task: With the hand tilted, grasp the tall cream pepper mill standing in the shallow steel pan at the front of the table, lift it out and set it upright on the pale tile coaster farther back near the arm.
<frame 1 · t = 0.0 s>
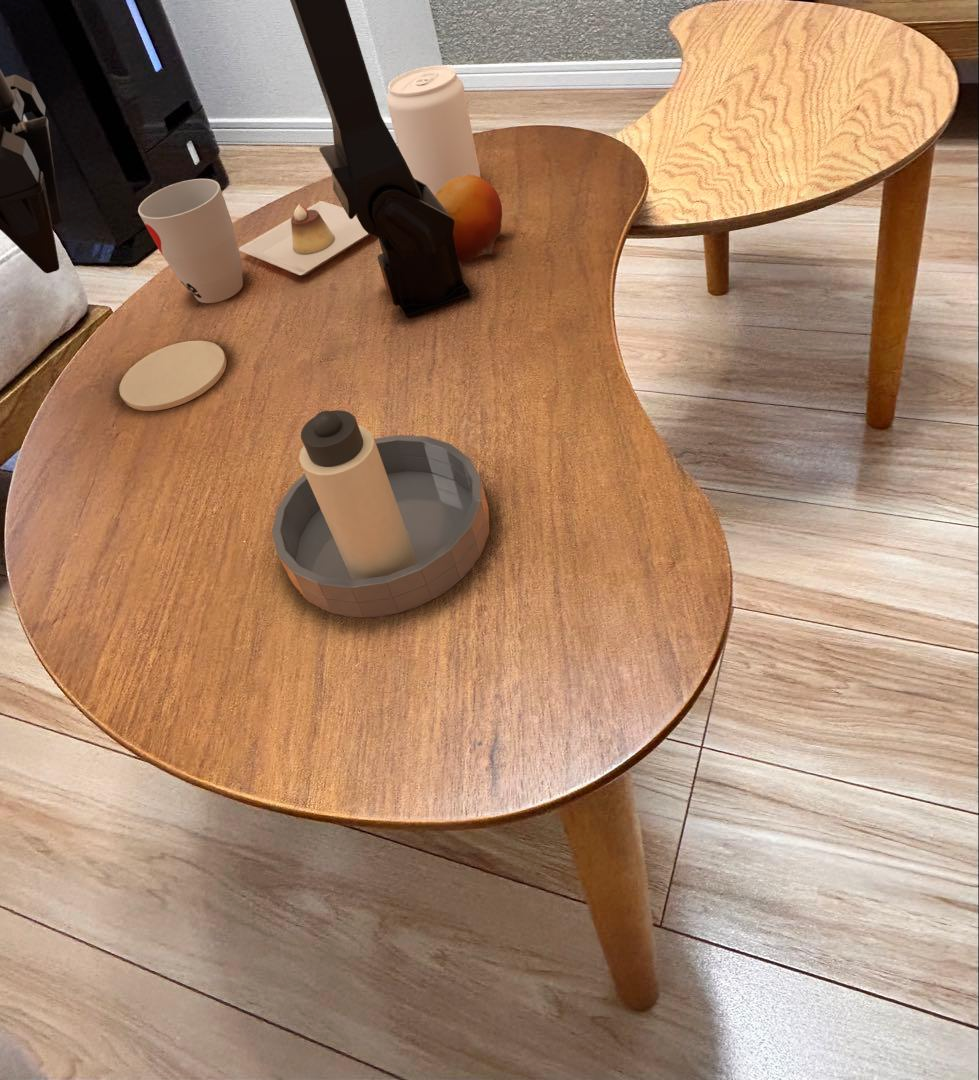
hand: (54, 246, 69), 15 cm above the table, tool pointing down, fingers open, 9 cm apart
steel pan: (389, 540, 60), on the table
tile coaster: (174, 377, 80), on the table
dessert: (315, 246, 94), on the table
fruit: (469, 250, 87), on the table
beverage can: (447, 194, 97), on the table
cup: (220, 291, 91), on the table
pepper mill: (386, 574, 57), resting on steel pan
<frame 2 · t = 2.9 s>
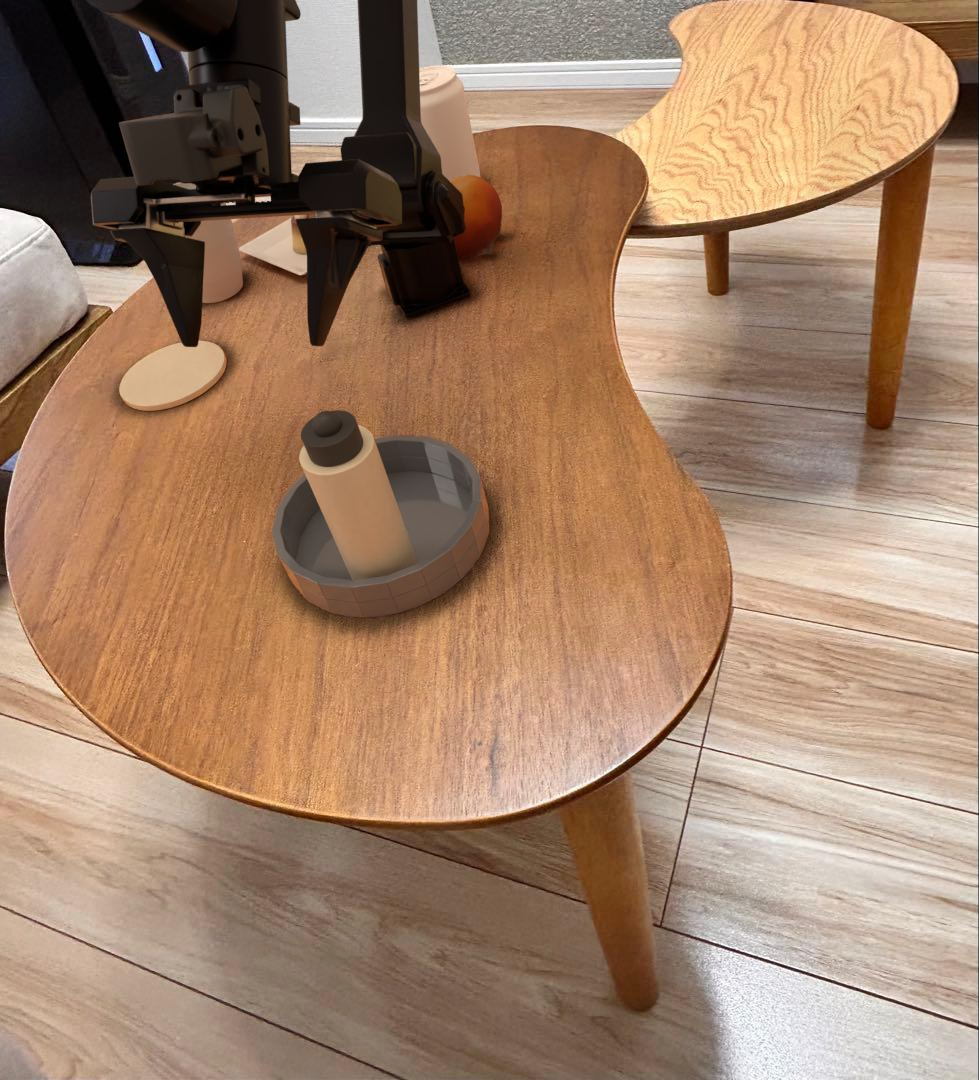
hand: (252, 346, 55), 14 cm above the table, tool tilted 35°, fingers open, 9 cm apart
nothing on the table moved.
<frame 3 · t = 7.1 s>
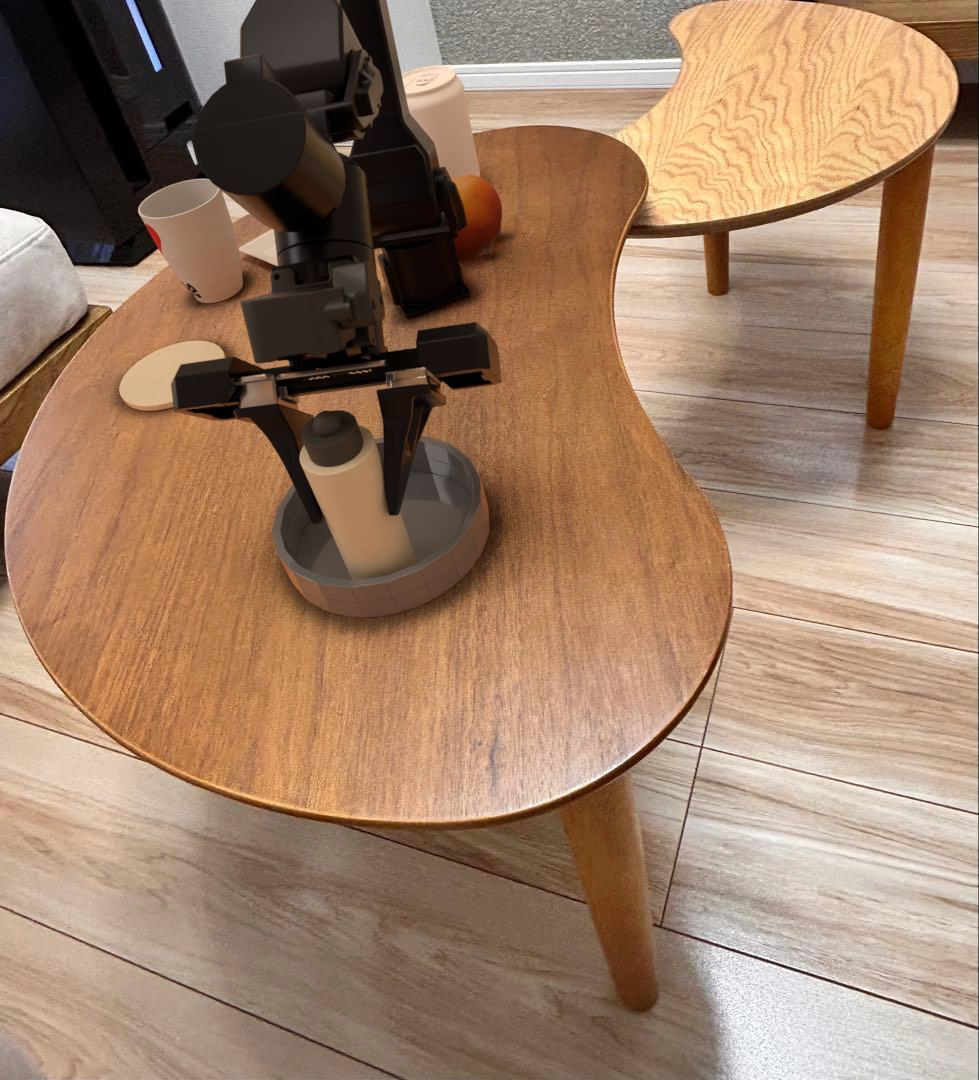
hand: (355, 519, 51), 7 cm above the table, tool tilted 45°, fingers closed on pepper mill, 4 cm apart
pepper mill: (386, 574, 57), point 1 cm above the table, touching gripper, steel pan
everything else where it was.
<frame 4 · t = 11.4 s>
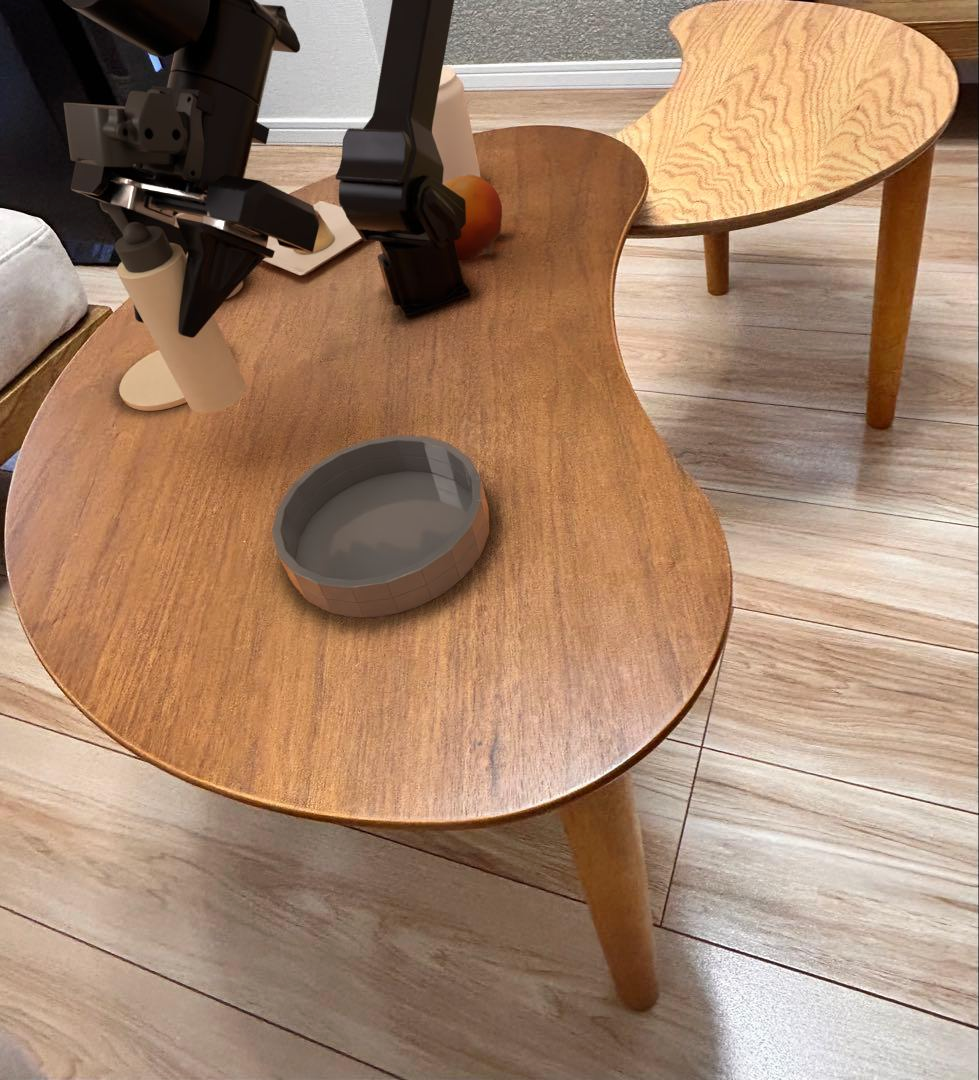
hand: (164, 329, 59), 13 cm above the table, tool tilted 45°, fingers closed on pepper mill, 4 cm apart
pepper mill: (217, 394, 64), point 7 cm above the table, touching gripper
everything else where it was.
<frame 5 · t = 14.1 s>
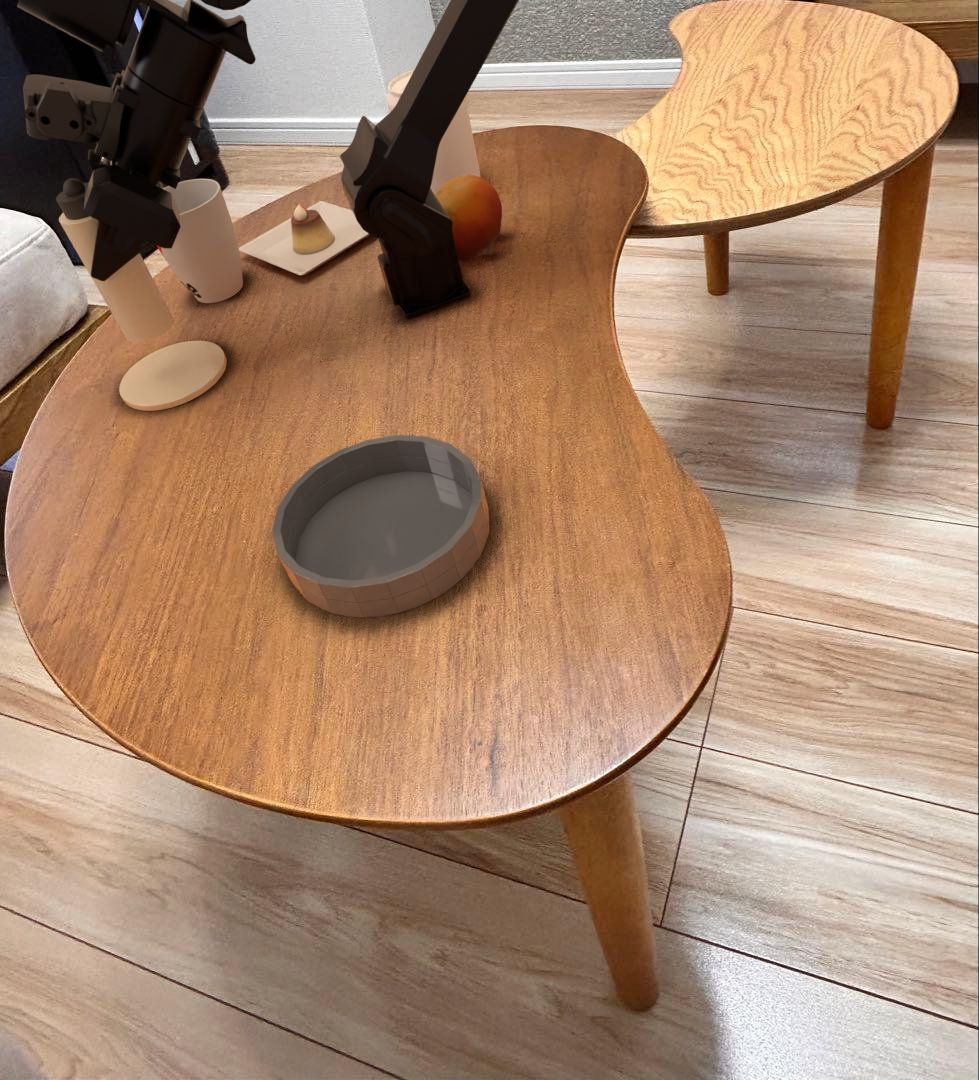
hand: (97, 265, 72), 12 cm above the table, tool tilted 45°, fingers closed on pepper mill, 4 cm apart
pepper mill: (150, 328, 76), point 5 cm above the table, touching gripper
everything else where it was.
when the fingers open (7 cm above the table, at t = 15.8 s): pepper mill stays where it is, resting on tile coaster.
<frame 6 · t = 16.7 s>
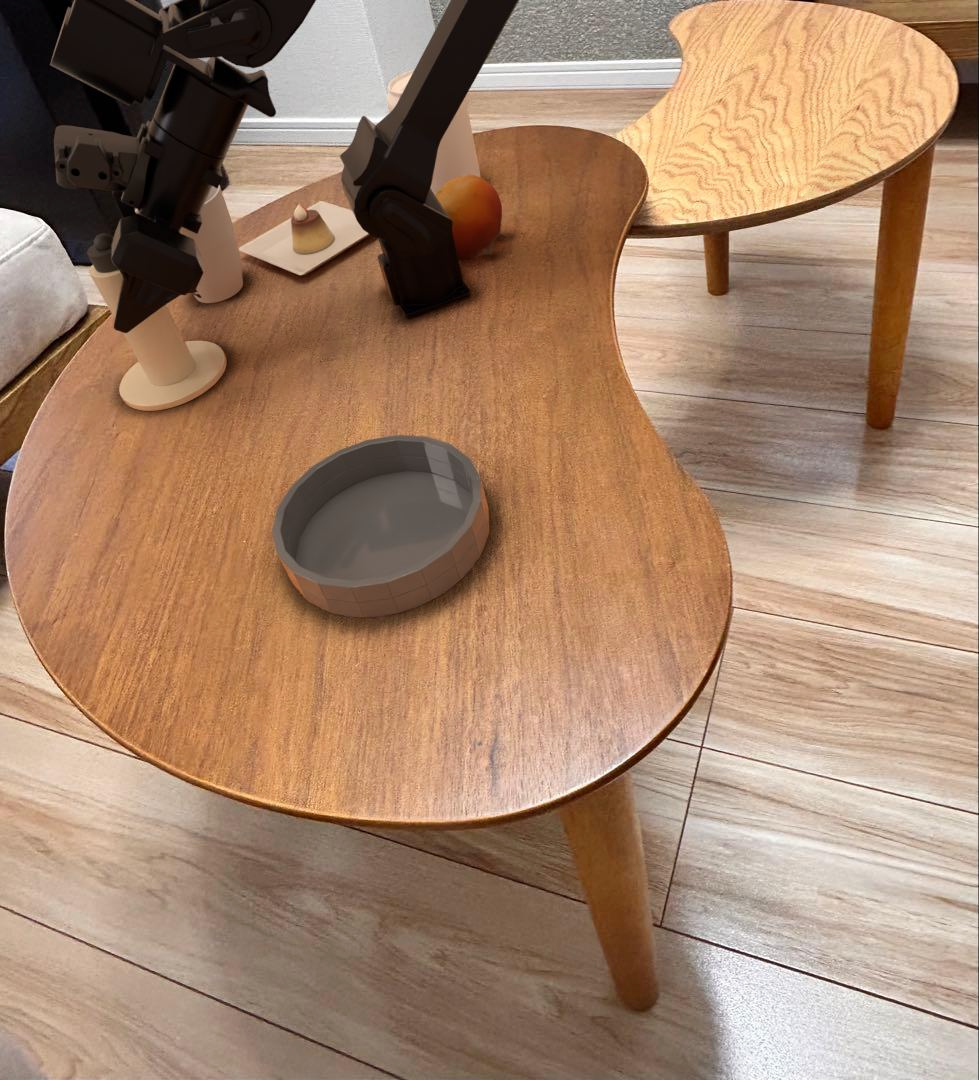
hand: (120, 304, 74), 8 cm above the table, tool tilted 45°, fingers open, 9 cm apart
pepper mill: (172, 371, 80), point 1 cm above the table, touching tile coaster
everything else where it was.
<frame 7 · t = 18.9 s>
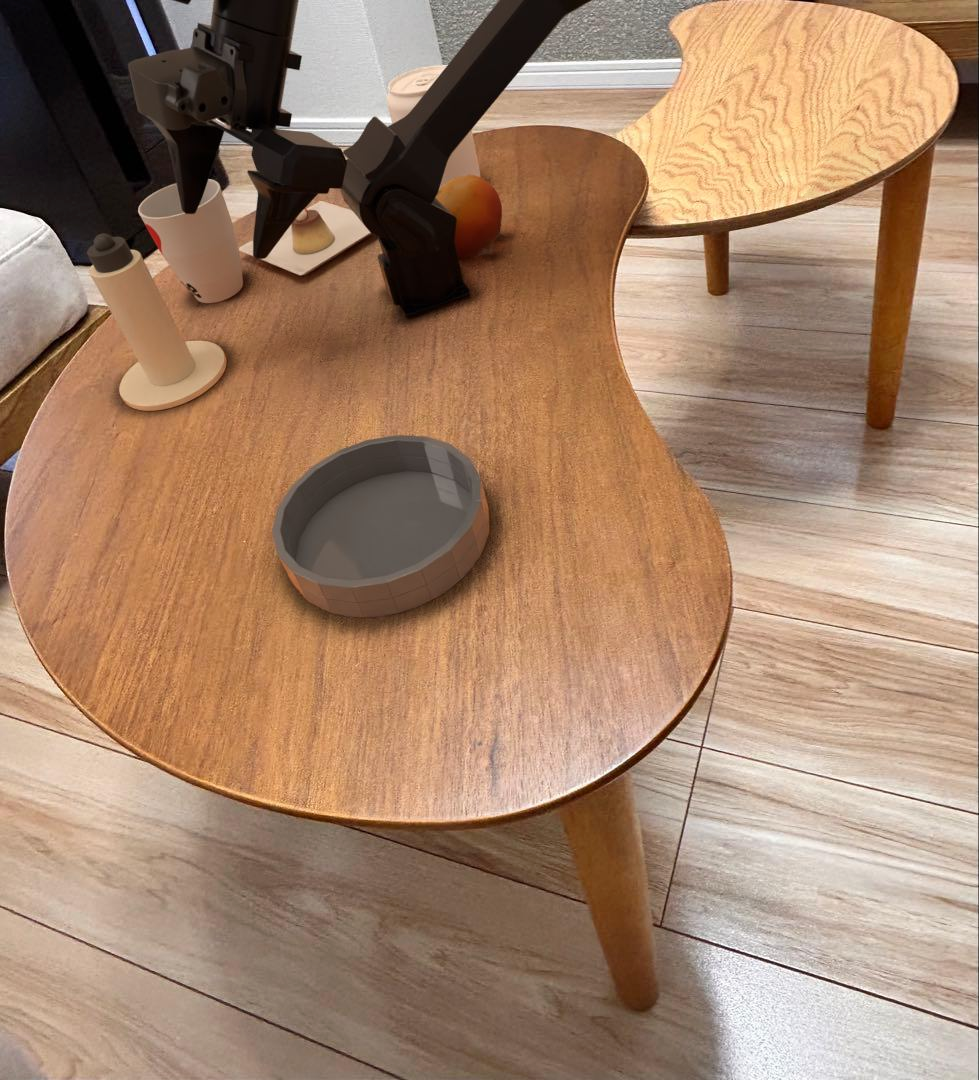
hand: (223, 235, 71), 12 cm above the table, tool tilted 30°, fingers open, 9 cm apart
nothing on the table moved.
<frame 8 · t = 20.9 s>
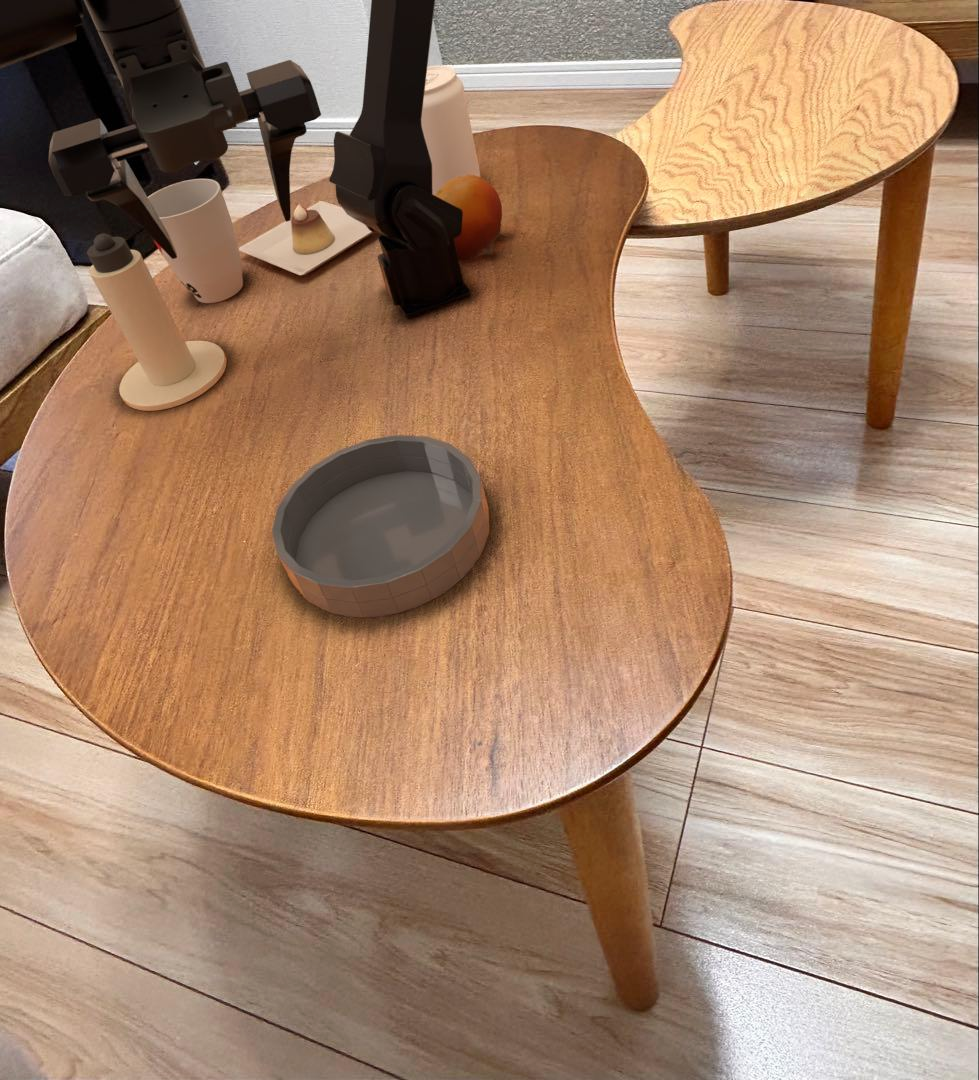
hand: (231, 237, 68), 13 cm above the table, tool pointing down, fingers open, 9 cm apart
nothing on the table moved.
at the end: pepper mill inside the target area on the tile coaster (0.1 cm from its centre), point 0.6 cm above the tile coaster's base; pepper mill tilted 0°; pepper mill touching tile coaster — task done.
